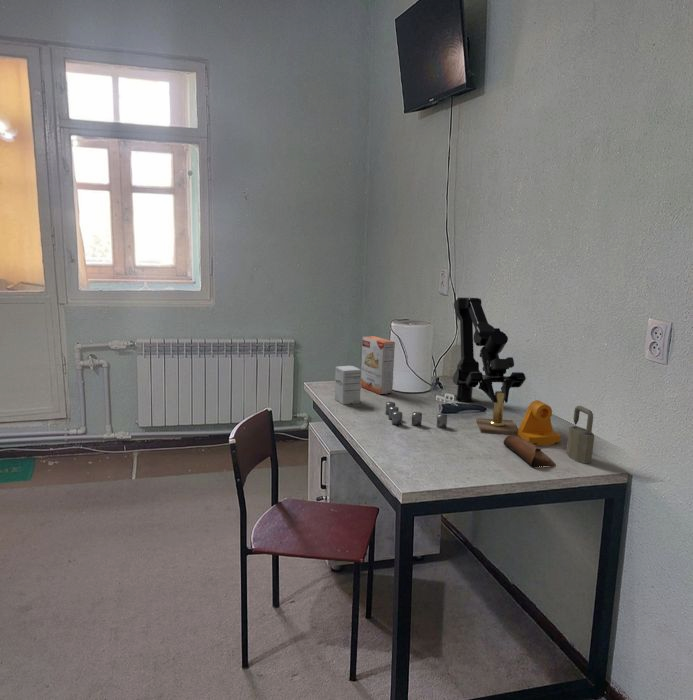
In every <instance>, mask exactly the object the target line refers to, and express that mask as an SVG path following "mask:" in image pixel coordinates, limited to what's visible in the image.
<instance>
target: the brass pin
mask: <svg viewBox="0 0 693 700" xmlns="http://www.w3.org/2000/svg"><path fill="white" fill-rule="evenodd" d="M494 394H495V398H496V402H495V403H494V402H493V403H494V404H493V414H492V419H493V420H490V425H491V426H495V427H504V426H505V422H504V421H502V420H503V416H504V407H505V406H504V405H505V401H504V396H505V392H502V391H501V390H498V391H497V390H496V391H494Z"/></svg>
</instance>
